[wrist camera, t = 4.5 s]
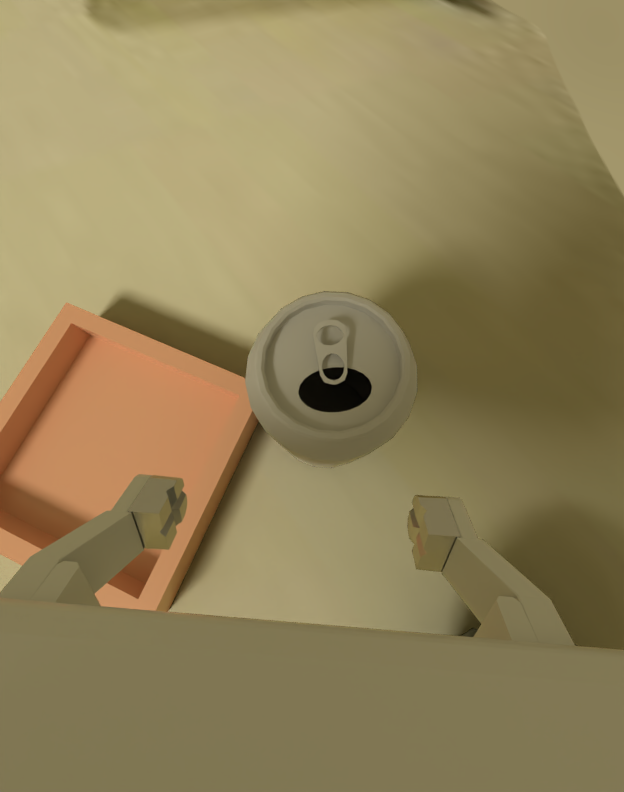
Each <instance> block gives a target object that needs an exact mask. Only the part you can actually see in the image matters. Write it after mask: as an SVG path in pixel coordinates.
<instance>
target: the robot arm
mask: <svg viewBox="0 0 624 792" xmlns="http://www.w3.org/2000/svg"><path fill="white" fill-rule="evenodd" d="M183 487H184V482H183V479H182V478H177V477H167V476H157V475H144V474H138V475H137V476H135V477H134V478H133V480H132V481H131V483H130V484H129V486H128V487H127V488H126V490H125V491H124V493H123V494H122V496H121V497H120V498H119V500H118V501H117V503H116V504H115V505H114V507H113V508H112V510H111V511H105V512H103V513H102V514H100V515H98V516H97V517H95V518H93V519H92V520H90V521H88V522H87V523H85V524H83V525H82V526H80V527H78V528H77V529H75V530H73V531H72V532H70V533H68V534H67V535H65V536H64V537H62V538H60V539H59V540H57V541H55V542H54V543H52V544H50V545H49V546H47V547H45V548H44V549H42V550H40V551H39V552H37V553H35V554H34V555H32V556H30V557H29V559H28V560H27V561H26V562H25V563H24V565H23V566H22V567H21V568H20V569H19V570H18V572H17V573H16V574H15V575H14V576H13V578H12V579H11V580H10V581H9V582H8V584H7V585H6V586H5V587H4V588H3V590H2V591H1V592H0V792H624V650H621V649H609V648H597V647H585V646H575V644H574V643H573V641H572V639H571V637H570V635H569V633H568V631H567V629H566V627H565V626H564V624H563V622H562V620H561V618H560V616H559V614H558V612H557V611H556V609H555V607H554V605H553V603H552V601H551V599H550V598H549V597H547V596H546V595H545V594H544V593H543V592H542V591H541V590H539V589H538V588H537V587H536V586H535V585H534V584H533V583H532V582H530V581H529V580H528V579H527V578H526V577H525V576H524V575H523V574H521V573H520V572H519V571H518V570H517V569H516V568H515V567H514V566H512V565H511V564H510V563H509V562H508V561H507V560H506V559H504V558H503V557H502V556H501V555H500V554H499V553H498V552H497V551H495V550H494V549H493V548H492V547H491V546H490V545H489V544H488V543H486V542H485V541H484V540H483V539H478V537H477V534H476V532H475V530H474V527H473V525H472V523H471V520H470V518H469V516H468V513H467V511H466V509H465V506H464V504H463V501H462V500H461V499H460V498H454V497H440V496H424V495H415V496H414V498H413V501H412V504H413V509H412V510H411V511H409V515H408V524H407V527H408V534H409V539H410V540H411V541H412V542H413V543H414V546H413V549H412V553H413V558H414V562H415V566H416V569H418V570H428V571H437V572H442V574H443V576H444V577H445V578H446V580H447V581H448V582H449V583H450V585H451V586H452V587H453V588H454V590H455V591H456V592H457V594H458V595H459V596H460V597H461V599H462V600H463V601H464V602H465V604H466V605H467V606H468V608H469V609H470V610H471V611H472V613H473V614H474V615H475V617H476V618H477V619H478V620H479V622H480V623H481V626H480V627H479V629H478V630H477V632H476V634H475V635H474V637H465V636H453V635H441V634H429V633H417V632H405V631H393V630H381V629H369V628H357V627H345V626H333V625H321V624H309V623H298V622H285V621H273V620H261V619H249V618H237V617H225V616H213V615H201V614H189V613H177V612H165V611H153V610H141V609H129V608H117V607H105V606H101V605H100V603H99V601H98V599H97V598H96V596H95V593H96V592H97V591H98V590H99V589H100V588H102V587H103V586H104V585H105V584H106V583H107V582H108V581H110V580H111V579H112V578H113V577H114V576H115V575H116V574H117V573H119V572H120V571H121V570H122V569H123V568H124V567H125V566H126V565H128V564H129V563H130V562H131V561H132V560H133V559H134V558H136V557H137V556H138V555H139V554H140V553H141V552H142V551H143V550H144V548H146V549H166V550H169V549H170V547H171V545H172V542H173V540H174V538H175V536H176V534H177V530H176V526H177V525H178V524H179V523H181V522H182V521H183V518H184V516H185V513H186V509H187V495H186V494H185V493H184V492H183V491H182V489H183Z"/></svg>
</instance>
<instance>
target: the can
mask: <svg viewBox="0 0 624 792" xmlns="http://www.w3.org/2000/svg"><path fill="white" fill-rule="evenodd" d="M245 384H246V388H247V393H248V397H249V402H250V406H251V409H252V410H253V412H254V414H255V415H256V417H257V419H258V420H259V422H260V424H261V425H262V427H263V429H264V430H265V431H266V432H267V433H268V434H269V435H270V436H271V437H272V438H273V439H274V440H276V441H277V442H278V443H279V444H280V445H281V446H282V447H283V448H284V449H285V450H287V451H288V452H289V453H290V454H291V455H293V456H294V457H295V458H296V459H297V460H299V461H301V462H304V463H306V464H309V465H311V466H314V467H328V468H332V467H336V466H340V465H344V464H347V463H350V462H352V461H354V460H356V459H359V458H361V457H363V456H365V455H367V454H369V453H371V452H372V451H374V450H375V449H377V448H378V447H380V446H381V445H383V444H384V443H386V442H387V441H389V440H390V439H392V438H393V437H394V436H395V434H396V433H397V432H398V430H399V429H400V428H401V426H402V425H403V424H404V422H405V421H406V420H407V419H408V417H409V415H410V412H411V409H412V406H413V403H414V400H415V397H416V394H417V364H416V361H415V358H414V355H413V352H412V349H411V347H410V344H409V341H408V340H407V338H406V337H405V334H404V332H403V331H402V329H401V328H400V327H399V325H398V324H397V323H396V321H395V320H394V319H393V317H392V316H391V315H390V314H389V313H388V312H387V311H385V310H384V309H382V308H381V307H379V306H378V305H377V304H375V303H374V302H372V301H371V300H369V299H366V298H363V297H360V296H357V295H354V294H351V293H348V292H329V291H324V292H319V293H315V294H311V295H307V296H303V297H300V298H299V299H297V300H295V301H293V302H292V303H290V304H288V305H287V306H285V307H283V308H281V309H280V311H279V312H278V313H277V314H276V315H275V316H274V317H273V318H272V319H271V320H270V321H269V322H268V324H267V325H266V326H265V327H264V328H263V329H262V330H261V331H260V332H259V333H258V335H257V338H256V340H255V342H254V344H253V346H252V348H251V351H250V353H249V355H248V360H247V369H246V378H245Z"/></svg>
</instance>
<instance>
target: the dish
mask: <svg viewBox="0 0 624 792" xmlns="http://www.w3.org/2000/svg"><path fill="white" fill-rule="evenodd" d="M258 422H259V420H258V419H257V417H256V415H255V414H254V412H253V410H252V409H251V406H250V402H249V397H248V393H247V388H246V384H245V378H244V377H242V376H239V375H237V374H234V373H232V372H230V371H227V370H225V369H223V368H220V367H218V366H215V365H213V364H211V363H208V362H206V361H204V360H201V359H199V358H197V357H194V356H192V355H189V354H187V353H185V352H182V351H180V350H178V349H175V348H173V347H171V346H168V345H166V344H163V343H161V342H159V341H156V340H154V339H152V338H149V337H147V336H145V335H142V334H140V333H137V332H135V331H133V330H130V329H128V328H126V327H123V326H121V325H118V324H116V323H114V322H111V321H109V320H107V319H104V318H102V317H100V316H97V315H95V314H92V313H90V312H88V311H85V310H83V309H81V308H78V307H76V306H74V305H71V304H69V303H66V304H65V305H64V307H63V308H62V310H61V311H60V313H59V314H58V316H57V317H56V319H55V320H54V322H53V323H52V325H51V326H50V328H49V329H48V331H47V332H46V334H45V335H44V337H43V338H42V340H41V341H40V343H39V344H38V346H37V347H36V349H35V350H34V352H33V353H32V355H31V357H30V358H29V360H28V361H27V363H26V364H25V366H24V367H23V369H22V370H21V372H20V373H19V375H18V376H17V378H16V379H15V381H14V382H13V384H12V385H11V387H10V388H9V390H8V391H7V393H6V394H5V396H4V397H3V399H2V400H1V402H0V554H1V555H3V556H5V557H7V558H9V559H11V560H13V561H15V562H16V563H18V564H20V565H22V566H23V565H24V563H25V562H26V561H27V560H28V559H29V557H30V556H32V555H34V554H35V553H37V552H39V551H40V550H42V549H44V548H45V547H47V546H49V545H50V544H52V543H54V542H55V541H57V540H59V539H60V538H62V537H64V536H65V535H67V534H68V533H70V532H72V531H73V530H75V529H77V528H78V527H80V526H82V525H83V524H85V523H87V522H88V521H90V520H92V519H93V518H95V517H97V516H98V515H100V514H102V513H103V512H105V511H111V510H112V508H113V507H114V505H115V504H116V503H117V501H118V500H119V498H120V497H121V496H122V494H123V493H124V491H125V490H126V488H127V487H128V486H129V484H130V483H131V481H132V480H133V478H134V477H135V476H137V475H138V474H144V475H157V476H167V477H177V478H182V479H183V482H184V487H183V489H182V491H183V492H184V493H185V494H186V495H187V509H186V513H185V516H184V518H183V521H182V522H181V523H179V524H178V525H177V526H176V530H177V534H176V536H175V538H174V540H173V542H172V545H171V547H170V549H169V550H166V549H146V548H144V550H143V551H142V552H141V553H140V554H139V555H138V556H137V557H136V558H134V559H133V560H132V561H131V562H130V563H129V564H128V565H126V566H125V567H124V568H123V569H122V570H121V571H120V572H119V573H117V574H116V575H115V576H114V577H113V578H112V579H111V580H110V581H108V582H107V583H106V584H105V585H104V586H103V587H102V588H100V589H99V590H98V591H97V592H96V593H95V596H96V598H97V599H98V601H99V603H100V605H101V606H105V607H117V608H129V609H141V610H153V611H165V612H167V611H169V609H170V607H171V605H172V602H173V600H174V598H175V596H176V594H177V592H178V590H179V588H180V586H181V583H182V581H183V579H184V577H185V575H186V573H187V571H188V569H189V567H190V565H191V562H192V560H193V558H194V556H195V554H196V552H197V550H198V548H199V546H200V544H201V541H202V539H203V537H204V535H205V533H206V531H207V529H208V527H209V525H210V523H211V520H212V518H213V516H214V514H215V512H216V510H217V508H218V506H219V504H220V501H221V499H222V497H223V495H224V493H225V491H226V489H227V487H228V485H229V483H230V480H231V478H232V476H233V474H234V472H235V470H236V468H237V466H238V464H239V462H240V459H241V457H242V455H243V453H244V451H245V449H246V447H247V445H248V443H249V440H250V438H251V436H252V434H253V432H254V430H255V428H256V426H257V424H258Z"/></svg>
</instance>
